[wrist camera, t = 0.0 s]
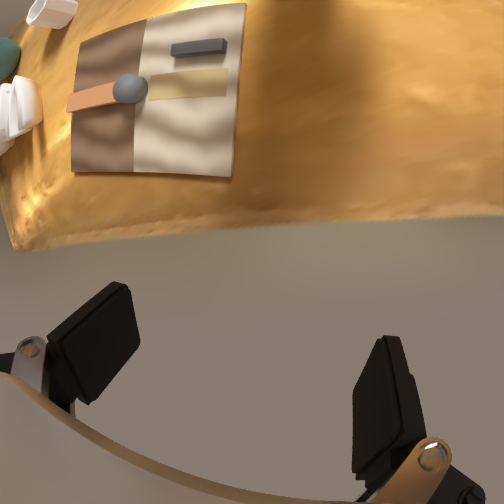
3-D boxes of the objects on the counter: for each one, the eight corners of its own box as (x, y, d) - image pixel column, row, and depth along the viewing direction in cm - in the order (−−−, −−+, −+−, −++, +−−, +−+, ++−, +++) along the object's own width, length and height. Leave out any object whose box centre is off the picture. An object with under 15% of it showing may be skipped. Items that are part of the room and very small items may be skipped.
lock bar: (149, 74, 34) (137, 71, 31) (146, 102, 36) (134, 100, 33) (75, 92, 37) (63, 92, 34) (73, 115, 39) (61, 115, 36)
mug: (78, 14, 31) (47, 6, 22) (55, 36, 33) (24, 31, 25) (78, -15, 27) (51, -24, 18) (56, 6, 30) (28, 0, 21)
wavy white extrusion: (54, 64, 37) (19, 62, 27) (54, 129, 43) (17, 134, 33) (-3, 115, 45) (-29, 120, 36) (-1, 164, 51) (-27, 172, 42)
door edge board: (83, 43, 34) (74, 41, 31) (247, 5, 28) (241, -3, 25) (74, 171, 45) (64, 174, 42) (232, 176, 39) (225, 179, 36)
